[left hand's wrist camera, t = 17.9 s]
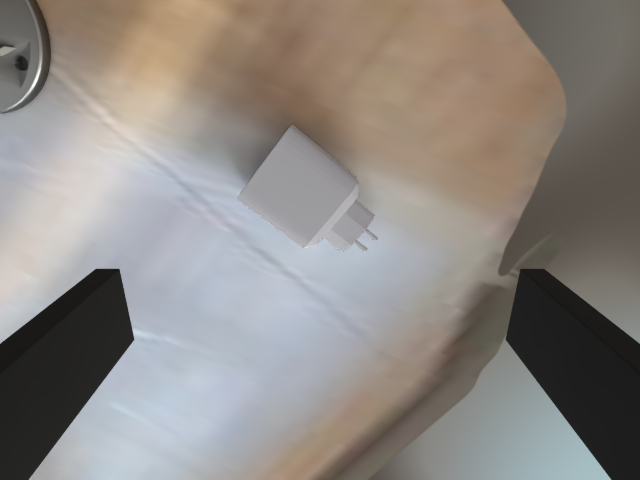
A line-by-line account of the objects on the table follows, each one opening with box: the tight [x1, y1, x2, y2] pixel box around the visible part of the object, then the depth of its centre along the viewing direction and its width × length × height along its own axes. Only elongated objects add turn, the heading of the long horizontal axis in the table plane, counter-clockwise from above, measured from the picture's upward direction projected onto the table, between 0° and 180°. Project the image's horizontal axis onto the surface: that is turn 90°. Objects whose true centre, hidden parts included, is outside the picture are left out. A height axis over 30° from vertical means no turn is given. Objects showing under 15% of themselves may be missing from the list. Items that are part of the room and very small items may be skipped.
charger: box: [236, 124, 378, 252], centre depth 41 cm, size 5×9×15 cm
